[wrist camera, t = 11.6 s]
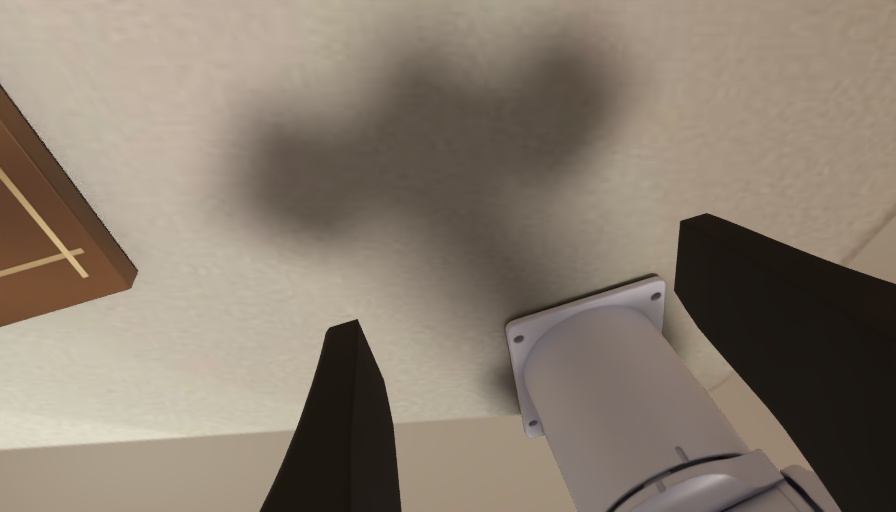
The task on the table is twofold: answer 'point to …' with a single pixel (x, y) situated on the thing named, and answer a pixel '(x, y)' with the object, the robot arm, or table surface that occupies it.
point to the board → (48, 232)
